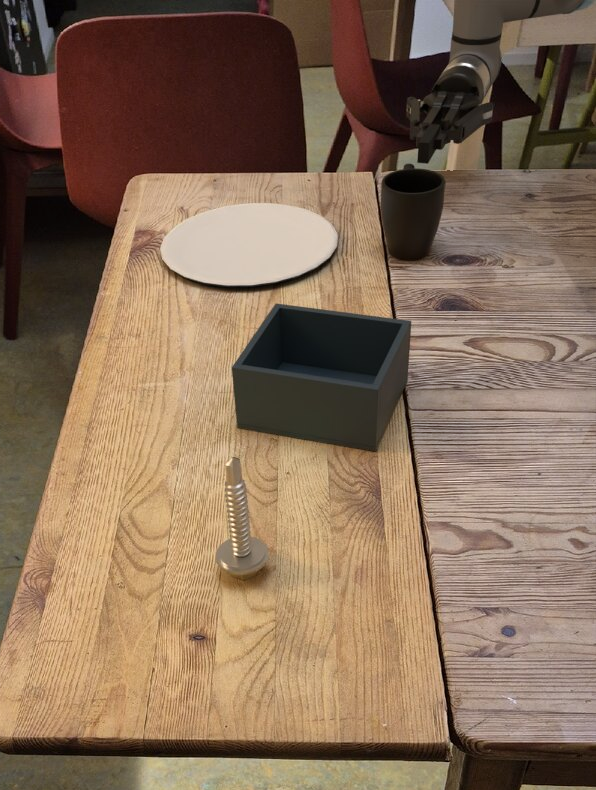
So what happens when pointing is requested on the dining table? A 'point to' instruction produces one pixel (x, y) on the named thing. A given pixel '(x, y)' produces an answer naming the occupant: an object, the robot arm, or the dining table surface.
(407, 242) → the mug
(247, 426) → the box
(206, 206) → the dining table surface
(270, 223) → the plate
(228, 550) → the screw
